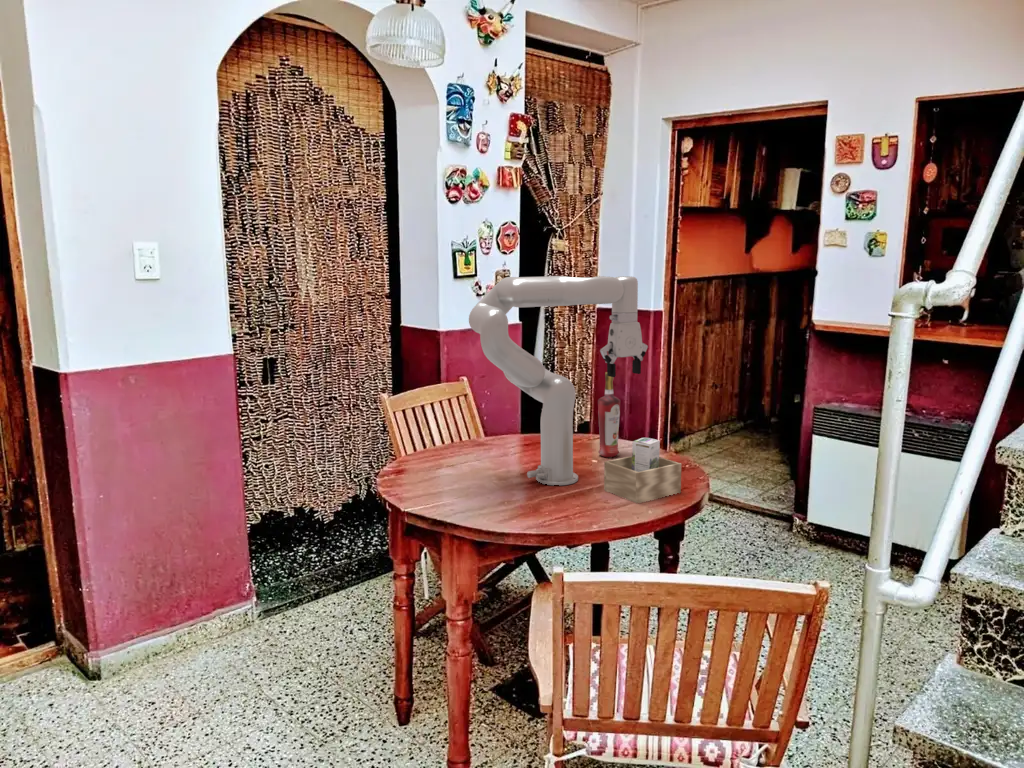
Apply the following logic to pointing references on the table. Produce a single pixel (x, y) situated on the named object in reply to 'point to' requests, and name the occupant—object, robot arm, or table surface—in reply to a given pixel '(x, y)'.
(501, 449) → the table surface
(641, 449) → the syrup box
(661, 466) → the box
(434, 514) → the table surface
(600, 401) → the liquor
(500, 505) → the table surface
